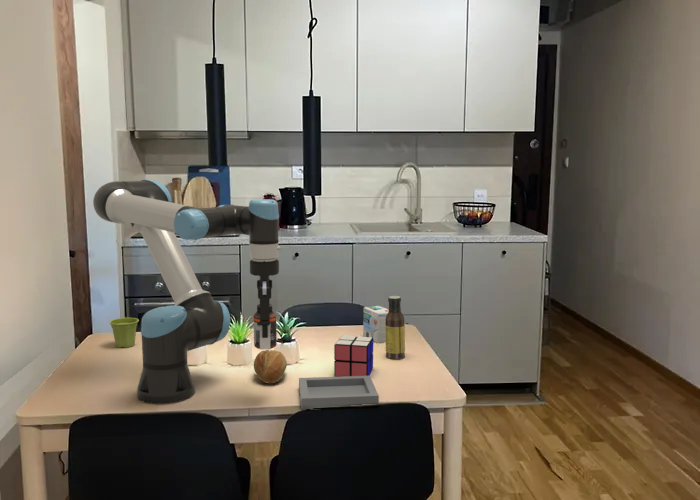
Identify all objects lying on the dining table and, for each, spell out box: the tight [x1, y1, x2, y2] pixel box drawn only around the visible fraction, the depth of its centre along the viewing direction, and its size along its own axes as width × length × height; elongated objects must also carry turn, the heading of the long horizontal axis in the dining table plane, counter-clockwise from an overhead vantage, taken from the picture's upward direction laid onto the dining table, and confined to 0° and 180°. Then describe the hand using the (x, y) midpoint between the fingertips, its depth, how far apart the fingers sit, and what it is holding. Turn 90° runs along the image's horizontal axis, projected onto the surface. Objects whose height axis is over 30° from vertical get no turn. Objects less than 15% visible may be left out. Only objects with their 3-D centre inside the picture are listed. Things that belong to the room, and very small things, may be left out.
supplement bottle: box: [253, 303, 278, 350], centre depth 177 cm, size 6×6×11 cm
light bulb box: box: [362, 305, 389, 344], centre depth 238 cm, size 11×7×11 cm, turn 28°
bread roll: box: [253, 349, 288, 384], centre depth 196 cm, size 10×15×8 cm, turn 6°
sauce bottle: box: [385, 295, 406, 360], centre depth 216 cm, size 6×6×20 cm
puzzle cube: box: [333, 335, 374, 377], centre depth 201 cm, size 10×10×10 cm
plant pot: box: [109, 317, 140, 348], centre depth 228 cm, size 9×9×9 cm
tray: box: [298, 375, 380, 411], centre depth 181 cm, size 20×16×3 cm
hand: (265, 345), depth 178 cm, fingers closed on supplement bottle, 6 cm apart
